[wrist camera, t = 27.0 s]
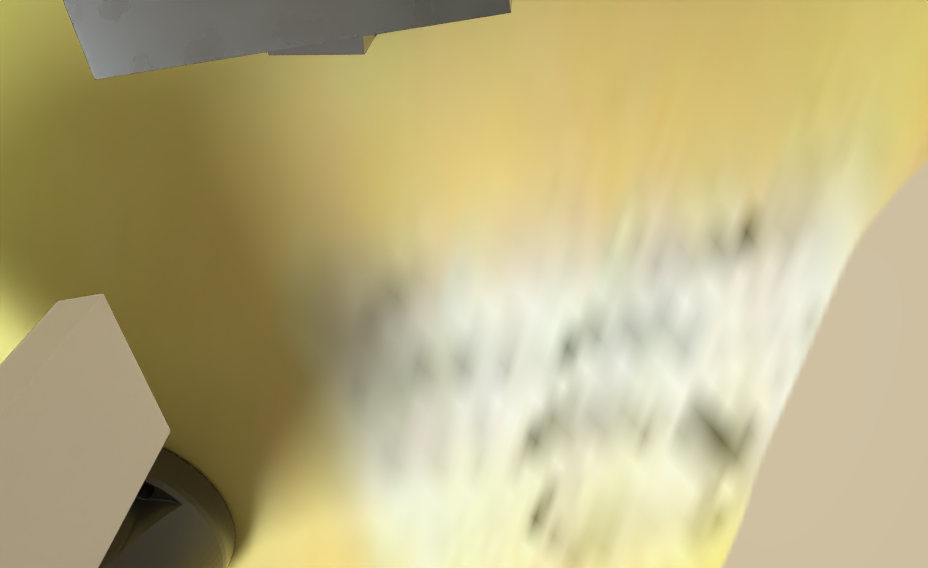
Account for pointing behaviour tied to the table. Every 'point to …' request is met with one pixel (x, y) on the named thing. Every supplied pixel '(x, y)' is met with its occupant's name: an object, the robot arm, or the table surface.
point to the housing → (241, 27)
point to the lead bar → (330, 47)
